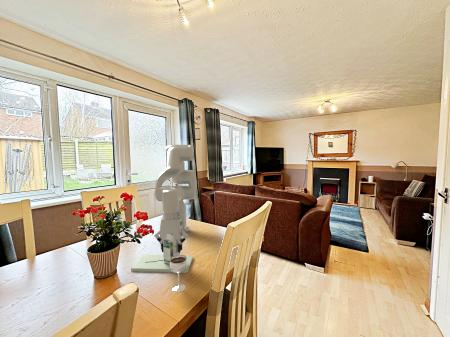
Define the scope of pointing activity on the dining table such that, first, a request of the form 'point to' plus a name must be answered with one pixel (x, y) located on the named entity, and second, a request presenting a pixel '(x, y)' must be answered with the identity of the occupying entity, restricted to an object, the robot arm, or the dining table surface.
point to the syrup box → (170, 247)
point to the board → (156, 264)
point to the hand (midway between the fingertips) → (171, 250)
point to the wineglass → (178, 269)
